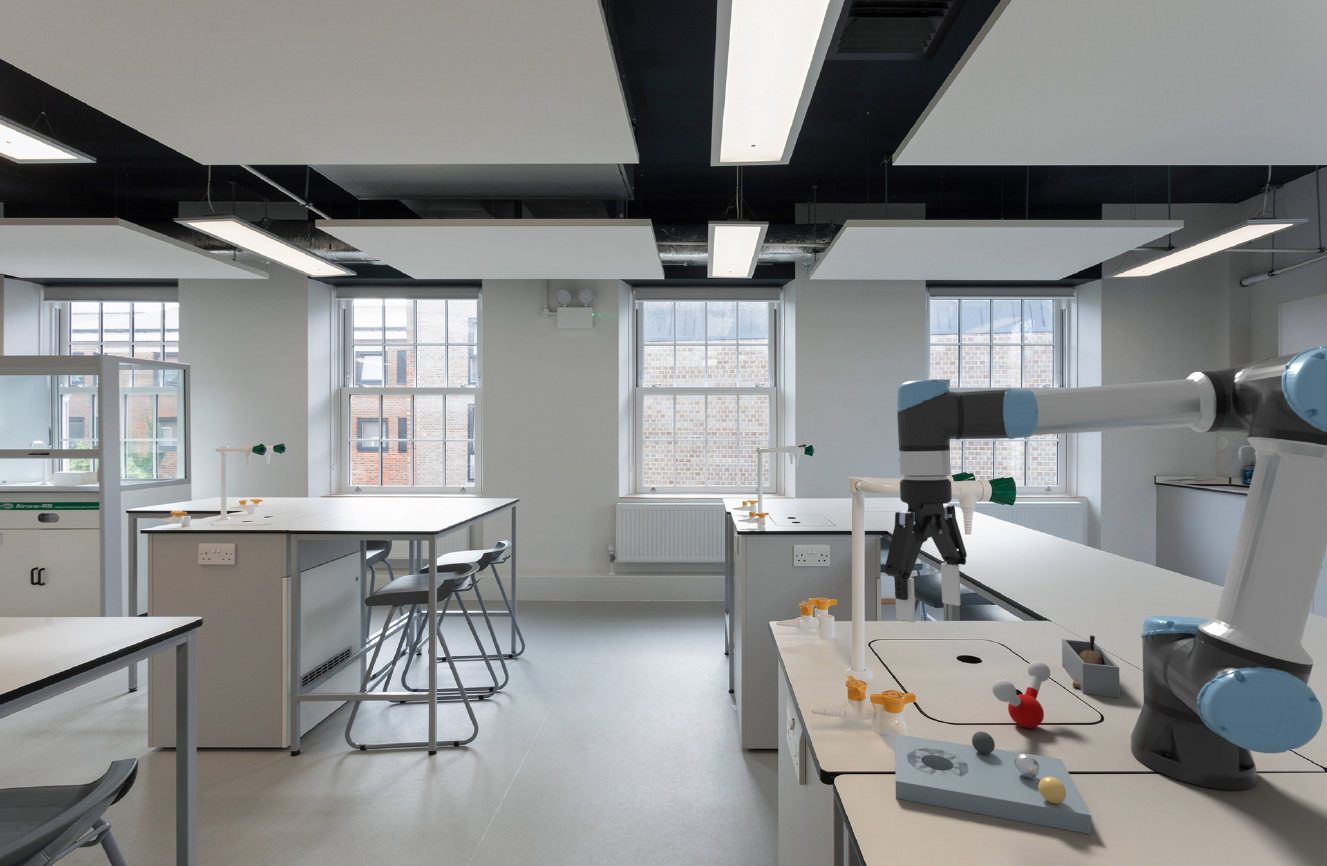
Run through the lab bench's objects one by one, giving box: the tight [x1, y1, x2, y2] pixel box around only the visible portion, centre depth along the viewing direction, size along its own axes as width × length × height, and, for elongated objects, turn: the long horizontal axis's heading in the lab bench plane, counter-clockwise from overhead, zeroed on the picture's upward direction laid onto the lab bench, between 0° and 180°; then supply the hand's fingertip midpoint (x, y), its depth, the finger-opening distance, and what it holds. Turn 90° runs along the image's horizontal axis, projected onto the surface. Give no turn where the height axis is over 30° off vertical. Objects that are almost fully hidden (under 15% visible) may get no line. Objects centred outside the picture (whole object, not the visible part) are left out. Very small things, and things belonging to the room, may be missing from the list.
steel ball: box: [1014, 753, 1040, 779], centre depth 90 cm, size 3×3×3 cm
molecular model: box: [991, 660, 1051, 729], centre depth 111 cm, size 18×6×10 cm, turn 133°
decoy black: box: [971, 731, 996, 754], centre depth 97 cm, size 3×3×3 cm
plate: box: [894, 733, 1092, 835], centre depth 92 cm, size 24×15×2 cm, turn 70°
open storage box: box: [1061, 638, 1121, 699], centre depth 131 cm, size 6×16×6 cm, turn 160°
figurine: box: [1072, 634, 1102, 689], centre depth 131 cm, size 14×4×9 cm, turn 140°
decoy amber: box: [1039, 777, 1066, 804], centre depth 84 cm, size 3×3×3 cm
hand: (929, 611), depth 97 cm, fingers open, 13 cm apart
